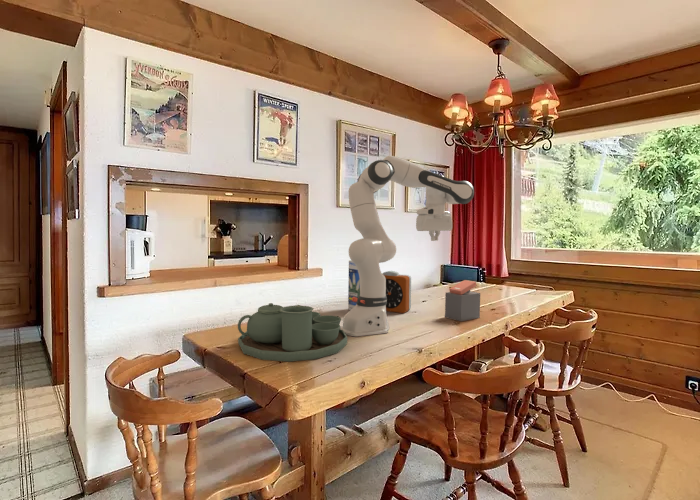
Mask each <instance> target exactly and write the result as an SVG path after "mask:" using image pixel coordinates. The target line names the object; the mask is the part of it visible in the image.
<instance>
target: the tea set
mask: <svg viewBox="0 0 700 500" xmlns="http://www.w3.org/2000/svg"><path fill="white" fill-rule="evenodd" d="M314 309H315V308H314V307H312V306H309V305H301V304H300V305H299V304H296V305H287V306H282V305H279V304H274V303H272V302H270V303H268V304H265V305H262V306H259V307H258V308H257V311H256V312H254V313H253V314H245V315H243V316H242V317H240V319H239V320H238V322H237V330H238V332H239V333H240V334H241V335H240V336H238V338H237V343H238V346H239V347H241V348H240V350H241V351H242V354H244V355H246V354H247V356H249V355H250V357H252V356H253V357H252V358H257V359H259V360H261V361H262V360H263V361H278V362H299V361H309V360H311V361H312V360H318V359H322V358H324V357H328V356H331V355H334V354H335V355H336V354H338V353H339V352H340V351H342V350H343V348H344V347H345V346H346V345H347V344H348V335H346V334H345V333H344V331H343V330H341V329H340V326H341V325H340V324H341V320H342V318H341V317H339V316H337V315H321V313H320V312H317V311H313V310H314ZM246 319H248V320H247V324H246V331H245V332H244V331H243V330H242V328H241V325H242V323H243V321H244V320H246Z"/></svg>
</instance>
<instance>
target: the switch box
mask: <svg viewBox="0 0 700 500" xmlns="http://www.w3.org/2000/svg"><path fill="white" fill-rule="evenodd" d="M444 298H445V299H444V300H445V304H444V306H445V307H444V318H446V317H447V319H452V320H455V321H459V322H465V321H469V320H471V321H472V320H475V319H479V318H481V317H480V316H481V293H480V292H476V291H472V290H470V292H469V293H466V292H465V293H464V294H462V295H460V294H455V293H450V291H448V292H445V297H444Z"/></svg>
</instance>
